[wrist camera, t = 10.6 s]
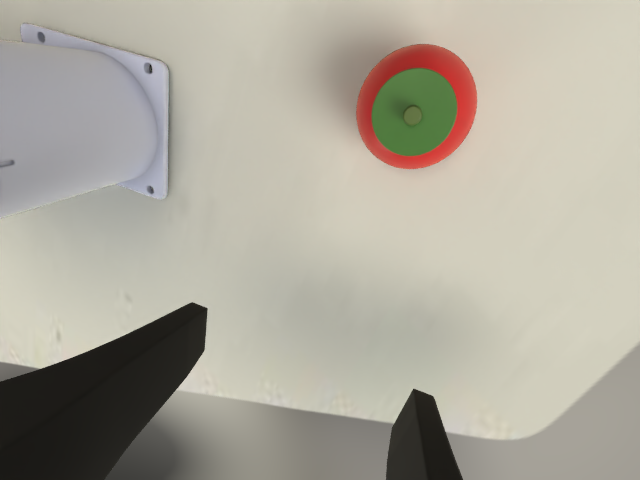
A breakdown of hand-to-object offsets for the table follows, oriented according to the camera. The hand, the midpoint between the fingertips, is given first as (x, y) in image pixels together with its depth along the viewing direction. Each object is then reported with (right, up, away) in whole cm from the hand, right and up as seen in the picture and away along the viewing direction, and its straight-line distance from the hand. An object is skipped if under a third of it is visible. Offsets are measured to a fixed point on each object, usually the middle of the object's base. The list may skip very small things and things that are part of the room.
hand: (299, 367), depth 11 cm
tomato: (+5, +10, +4) cm, 12 cm away
